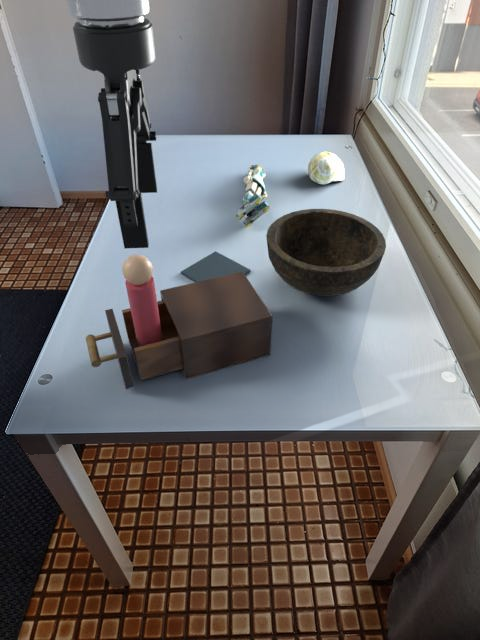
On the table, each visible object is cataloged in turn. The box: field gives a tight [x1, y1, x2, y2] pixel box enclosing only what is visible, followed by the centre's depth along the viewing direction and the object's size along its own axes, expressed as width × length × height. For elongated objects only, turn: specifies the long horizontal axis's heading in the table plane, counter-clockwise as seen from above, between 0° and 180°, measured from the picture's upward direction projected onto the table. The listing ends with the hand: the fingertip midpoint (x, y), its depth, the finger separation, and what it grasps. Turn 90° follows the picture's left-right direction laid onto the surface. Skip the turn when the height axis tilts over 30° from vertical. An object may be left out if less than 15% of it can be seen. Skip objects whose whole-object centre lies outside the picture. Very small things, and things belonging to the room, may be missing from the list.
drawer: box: [85, 300, 184, 390], centre depth 75 cm, size 17×11×7 cm, turn 112°
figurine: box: [235, 164, 270, 228], centre depth 117 cm, size 7×8×30 cm
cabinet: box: [159, 271, 274, 380], centre depth 78 cm, size 15×13×9 cm
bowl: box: [265, 208, 387, 297], centre depth 90 cm, size 22×22×10 cm
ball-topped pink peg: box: [121, 254, 165, 348], centre depth 71 cm, size 5×5×18 cm
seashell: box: [307, 151, 345, 185], centre depth 125 cm, size 10×10×10 cm
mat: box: [180, 251, 252, 283], centre depth 95 cm, size 10×10×1 cm
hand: (142, 216), depth 59 cm, fingers open, 13 cm apart
